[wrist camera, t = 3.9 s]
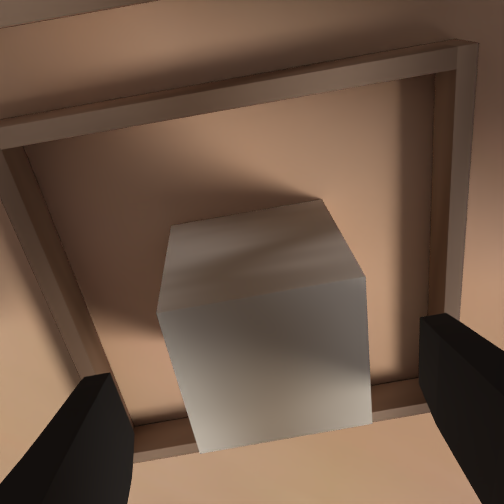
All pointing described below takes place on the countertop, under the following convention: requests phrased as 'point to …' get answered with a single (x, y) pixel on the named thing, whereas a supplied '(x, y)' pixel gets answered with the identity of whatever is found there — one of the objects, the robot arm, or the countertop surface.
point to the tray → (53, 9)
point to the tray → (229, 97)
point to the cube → (266, 326)
